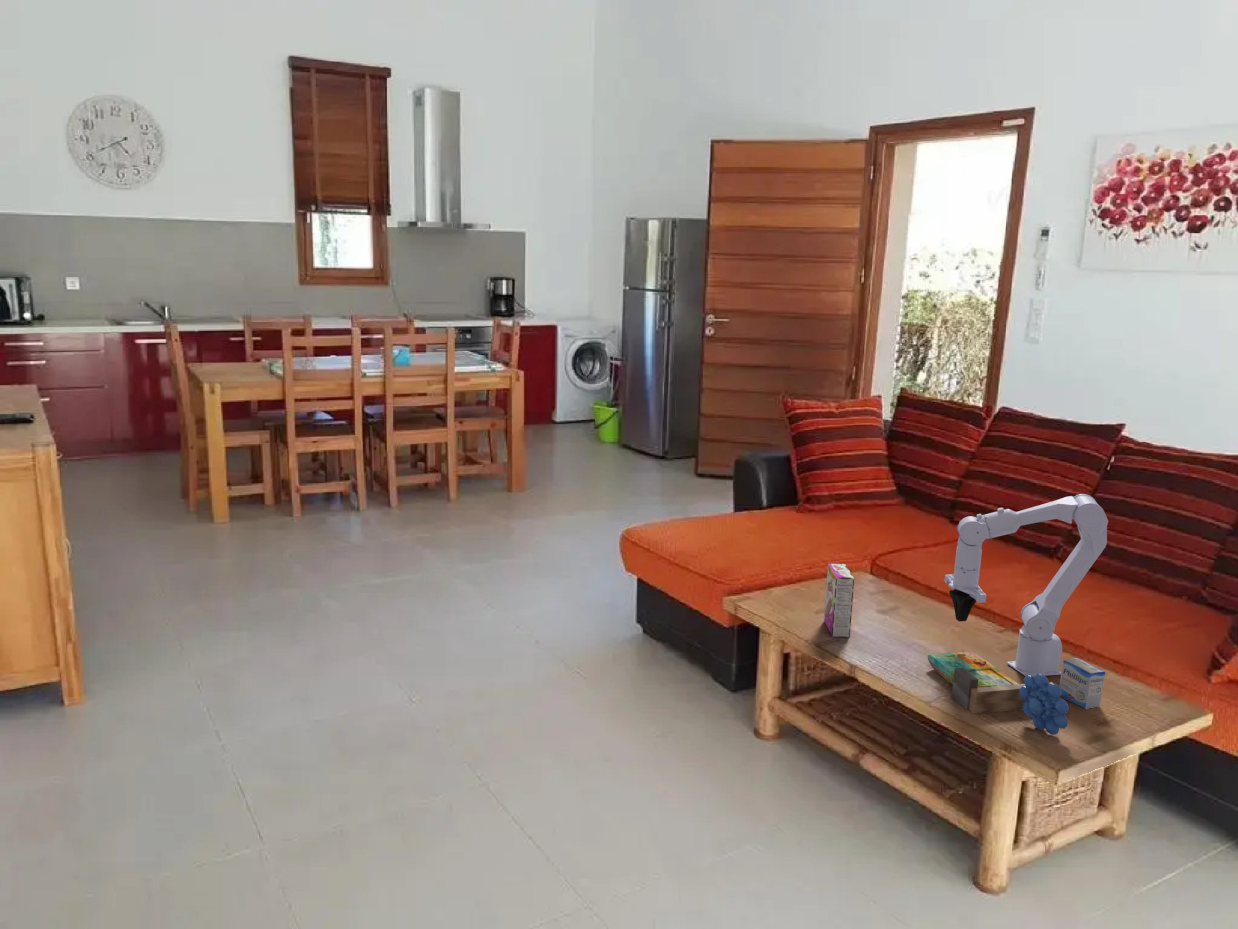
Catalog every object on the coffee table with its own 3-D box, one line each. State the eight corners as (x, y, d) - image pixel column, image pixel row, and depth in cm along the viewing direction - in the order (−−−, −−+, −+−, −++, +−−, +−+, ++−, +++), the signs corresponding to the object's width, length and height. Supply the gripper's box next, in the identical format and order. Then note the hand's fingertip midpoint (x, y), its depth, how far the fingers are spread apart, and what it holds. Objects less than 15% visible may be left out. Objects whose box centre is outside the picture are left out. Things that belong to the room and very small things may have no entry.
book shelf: (1031, 690, 220) (1035, 662, 219) (1054, 706, 213) (1058, 677, 211) (951, 697, 216) (954, 668, 214) (971, 714, 208) (975, 684, 206)
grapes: (1002, 722, 205) (1009, 669, 202) (1023, 715, 208) (1030, 663, 206) (1050, 746, 195) (1058, 692, 192) (1072, 739, 198) (1079, 685, 196)
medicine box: (1057, 695, 219) (1062, 659, 217) (1072, 692, 220) (1077, 656, 218) (1085, 710, 211) (1090, 673, 209) (1100, 707, 213) (1106, 671, 211)
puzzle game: (972, 647, 232) (1024, 684, 213) (970, 665, 233) (1021, 703, 214) (928, 651, 230) (977, 688, 211) (926, 669, 231) (974, 707, 212)
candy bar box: (822, 621, 258) (827, 562, 254) (841, 621, 258) (846, 563, 254) (830, 637, 247) (835, 577, 244) (850, 638, 247) (855, 577, 244)
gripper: (935, 558, 236) (930, 610, 239) (969, 577, 222) (963, 632, 225) (961, 556, 238) (955, 608, 241) (996, 576, 224) (990, 631, 227)
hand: (961, 620), depth 233 cm, fingers closed
